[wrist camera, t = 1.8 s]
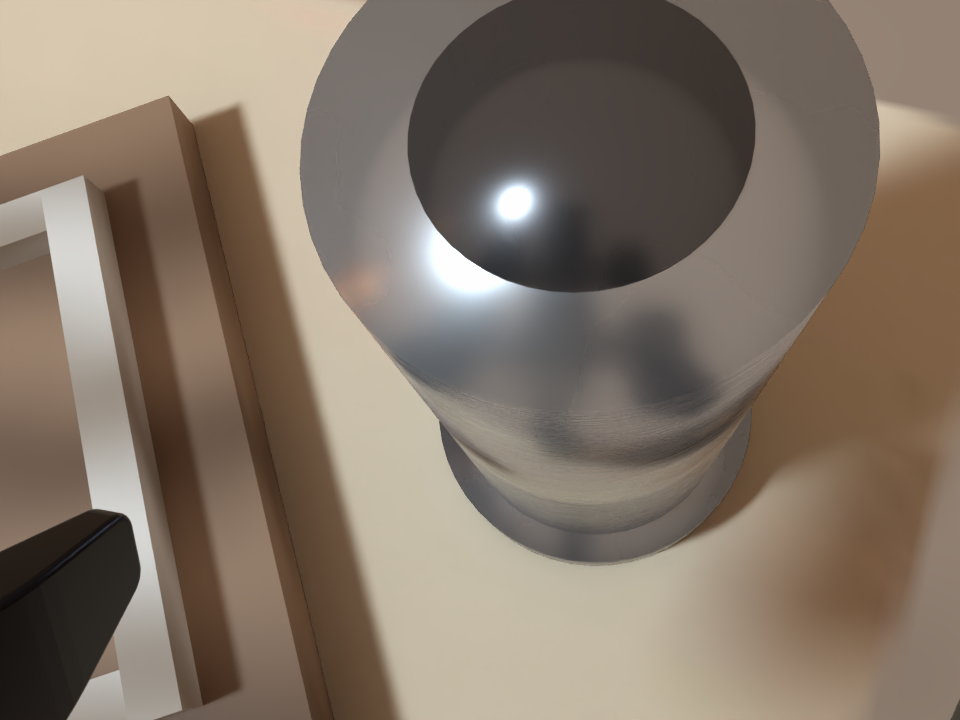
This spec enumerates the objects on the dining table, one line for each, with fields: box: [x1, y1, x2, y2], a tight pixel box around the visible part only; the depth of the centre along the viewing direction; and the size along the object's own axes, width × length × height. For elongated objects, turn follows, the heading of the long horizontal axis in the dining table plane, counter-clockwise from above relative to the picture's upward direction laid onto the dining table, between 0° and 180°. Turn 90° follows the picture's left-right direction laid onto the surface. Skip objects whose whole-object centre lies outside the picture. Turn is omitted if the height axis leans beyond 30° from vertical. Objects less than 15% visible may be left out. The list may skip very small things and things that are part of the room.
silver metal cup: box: [300, 0, 880, 566], centre depth 15 cm, size 7×7×13 cm
